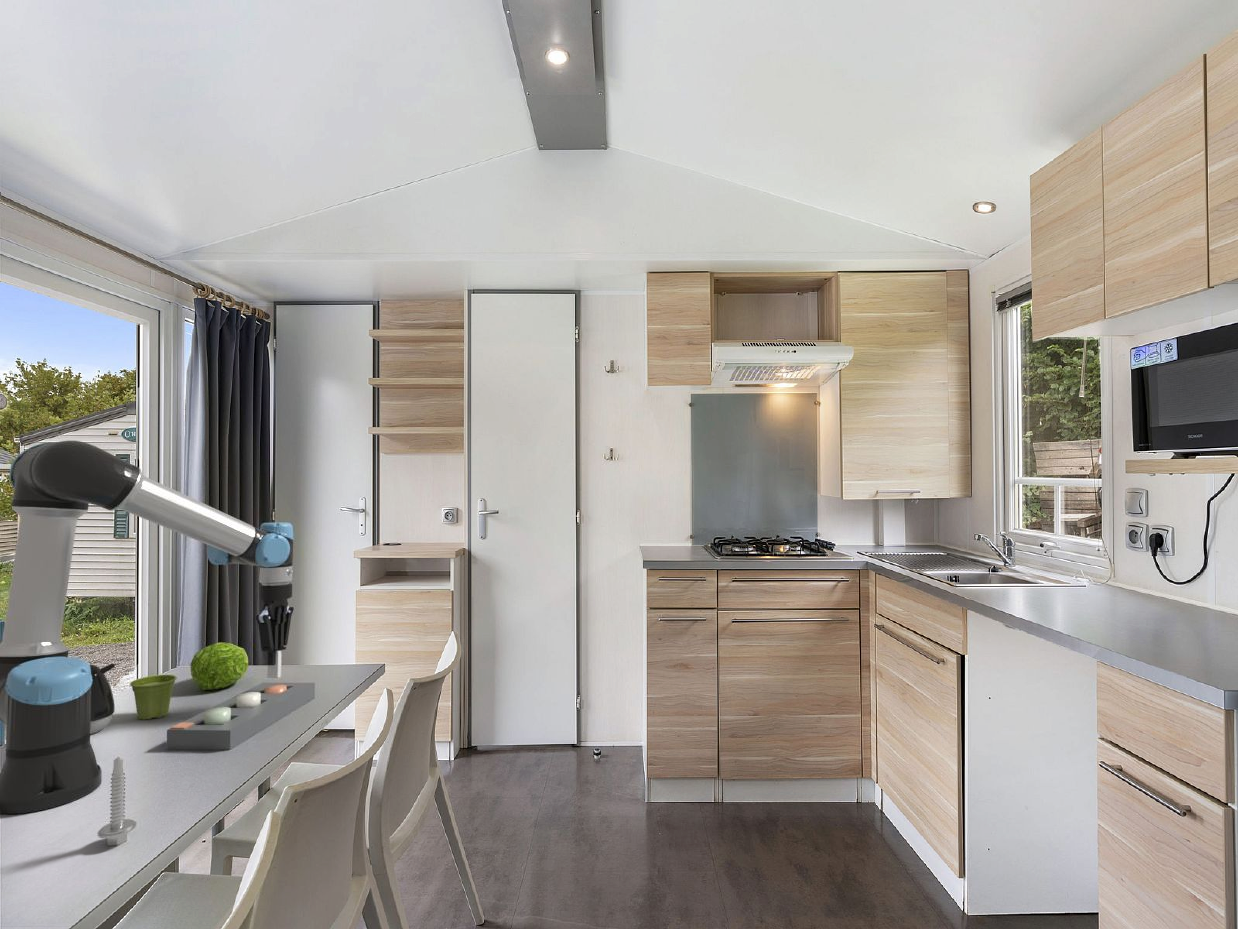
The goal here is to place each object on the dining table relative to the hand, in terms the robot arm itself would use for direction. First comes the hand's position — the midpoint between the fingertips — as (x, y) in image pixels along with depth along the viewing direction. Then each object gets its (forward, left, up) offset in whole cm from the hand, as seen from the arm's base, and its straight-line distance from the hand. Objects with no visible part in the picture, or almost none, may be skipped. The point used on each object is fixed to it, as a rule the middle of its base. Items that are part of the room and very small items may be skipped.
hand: (274, 677), depth 168 cm
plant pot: (-8, +26, -8) cm, 28 cm away
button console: (-11, 0, -7) cm, 13 cm away
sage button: (-22, 0, -5) cm, 22 cm away
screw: (-64, -13, -7) cm, 65 cm away
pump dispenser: (-19, +33, -7) cm, 39 cm away
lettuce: (+19, +27, -8) cm, 34 cm away
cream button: (-11, 0, -5) cm, 12 cm away
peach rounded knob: (0, 0, -6) cm, 6 cm away
